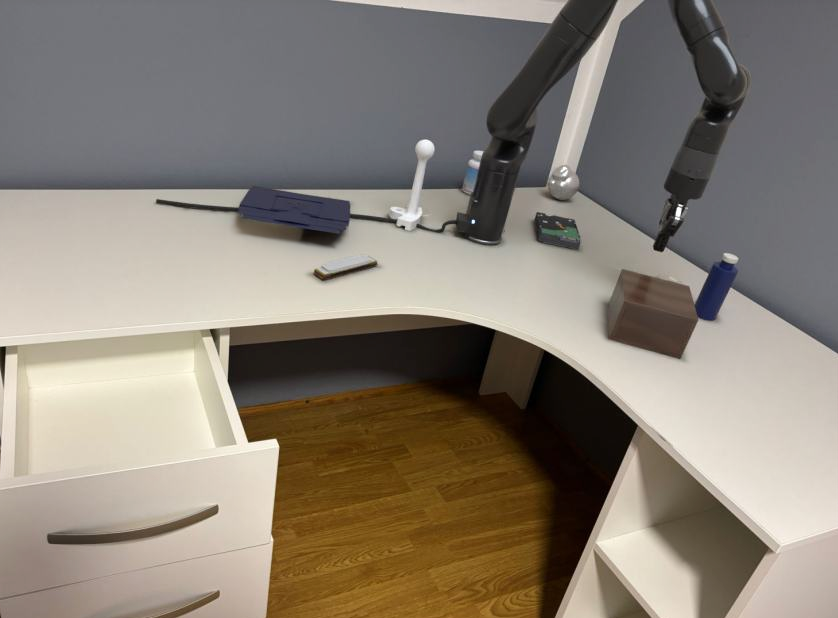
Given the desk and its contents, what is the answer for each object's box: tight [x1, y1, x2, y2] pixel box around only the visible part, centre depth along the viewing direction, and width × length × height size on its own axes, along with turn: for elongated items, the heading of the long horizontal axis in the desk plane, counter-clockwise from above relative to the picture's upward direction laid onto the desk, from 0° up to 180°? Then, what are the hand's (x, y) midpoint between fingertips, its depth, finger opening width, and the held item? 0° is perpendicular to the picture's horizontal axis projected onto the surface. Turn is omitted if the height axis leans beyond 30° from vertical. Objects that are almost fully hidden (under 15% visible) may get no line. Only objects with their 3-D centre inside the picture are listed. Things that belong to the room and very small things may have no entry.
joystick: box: [388, 139, 436, 232], centre depth 164 cm, size 11×8×20 cm
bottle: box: [694, 252, 739, 322], centre depth 148 cm, size 5×5×14 cm
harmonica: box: [313, 253, 378, 280], centre depth 140 cm, size 15×3×2 cm, turn 134°
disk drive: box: [533, 211, 581, 250], centre depth 177 cm, size 10×3×15 cm
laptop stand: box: [236, 185, 351, 235], centre depth 159 cm, size 24×30×4 cm
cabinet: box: [607, 268, 699, 360], centre depth 138 cm, size 16×14×9 cm
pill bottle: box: [461, 150, 484, 195], centre depth 193 cm, size 6×6×11 cm
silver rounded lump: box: [546, 164, 580, 201], centre depth 201 cm, size 9×10×10 cm
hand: (657, 250), depth 147 cm, fingers closed
